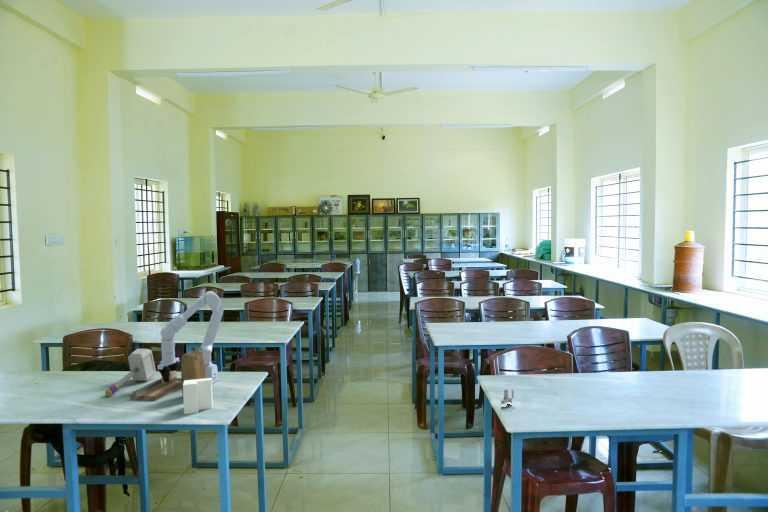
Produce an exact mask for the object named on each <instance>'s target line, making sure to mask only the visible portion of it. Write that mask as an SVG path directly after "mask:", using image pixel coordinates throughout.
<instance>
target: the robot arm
mask: <svg viewBox="0 0 768 512" xmlns="http://www.w3.org/2000/svg"><path fill="white" fill-rule="evenodd" d="M207 306H208V307H209V308H210V310H211V311H212V314H211V317H210V320H209V322H208V325H207V327H206V328H207V329H206V332H205V335H204V337H203V340H202V344H201V345H200V348H199V349H198V350H197V351H201V352H202V356H203V359H204V363H205V371H206V378H211V380H212V384H214V383H216V382H217V381H219V380H220V379H219V374H218V373H219V372H218V371H219V370H218V366H217V365H218V364H215V363H212V353H213V346H214V343H215V340H216V339H215V338H216V336H217V333H218V330H219V327H220V324H221V320H222V318H223V314H224V311H225V310H224V307H223V303H222V300H221V298H220V296H219V295H218V294H217V293H216V292H214V291H213V290H207V291H206V292H204V294H203V295H201V296H199V297H198V298H197V299H196V300H195V301H194V302H193V303H192V304H191V305H190V306H189V307H188V308H187V309H186V310H185V311H184V312H183V313H182V314H177V315H174V316H173V319H172V320H171V321H169V323H166V324H165V326H164V327H163V328H161V330H160V336H161V345H160V346H161V360H160V361H159V364H158V365H157V370H158V372H159V374H160V375H161V378H163V381H164V382H169V373H170V371H176V373H177V371H178V368H179V367H180V357H176V350H175V347H176V346H175V340H174V338H175V336H176V335H175V334H177V333H178V332H179V331H181V329H182V328H184V326H186V325H187V324H188V319H189V318H190V317H191V316H192V315H194V314H195V313H196V312H197V311H199V309H201V308H206V307H207Z"/></svg>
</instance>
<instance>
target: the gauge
mask: <svg viewBox="0 0 768 512" xmlns="http://www.w3.org/2000/svg"><path fill="white" fill-rule="evenodd" d="M177 376H178V375H177V372H176V371H170V373H169V382H164V381H163V378H162V377H161V378H162V383H165V384H172V383H174V382H176V381H181V377H177Z"/></svg>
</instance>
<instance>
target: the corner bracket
mask: <svg viewBox="0 0 768 512" xmlns="http://www.w3.org/2000/svg"><path fill="white" fill-rule="evenodd" d="M182 397H183V414H184V415H189V414H198V413H199V411H201V410H202V409H203V410H212V409H213V404H214V403H213V402H214V401H213V383H212V380H211V378H205V379H194V380H184V383H183V395H182ZM211 408H212V409H211Z"/></svg>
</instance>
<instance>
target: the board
mask: <svg viewBox="0 0 768 512" xmlns="http://www.w3.org/2000/svg"><path fill="white" fill-rule="evenodd" d="M180 388H182V384H181V381H176V382H174V383H172V384H165V383H162V377H160V378H159V379H157V380H155V381H153V382H151V383H148V384H146V385H144V386H142V387H139V388H138V389H136V390H134V391H133V393H132V394H130V400H131V401H134V400H135V401H154V402H156V401H158V400H160V399H162V398H163V397H165V396H168V395H169V394H171V393H172V392H174V391H176V390H179V389H180Z"/></svg>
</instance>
